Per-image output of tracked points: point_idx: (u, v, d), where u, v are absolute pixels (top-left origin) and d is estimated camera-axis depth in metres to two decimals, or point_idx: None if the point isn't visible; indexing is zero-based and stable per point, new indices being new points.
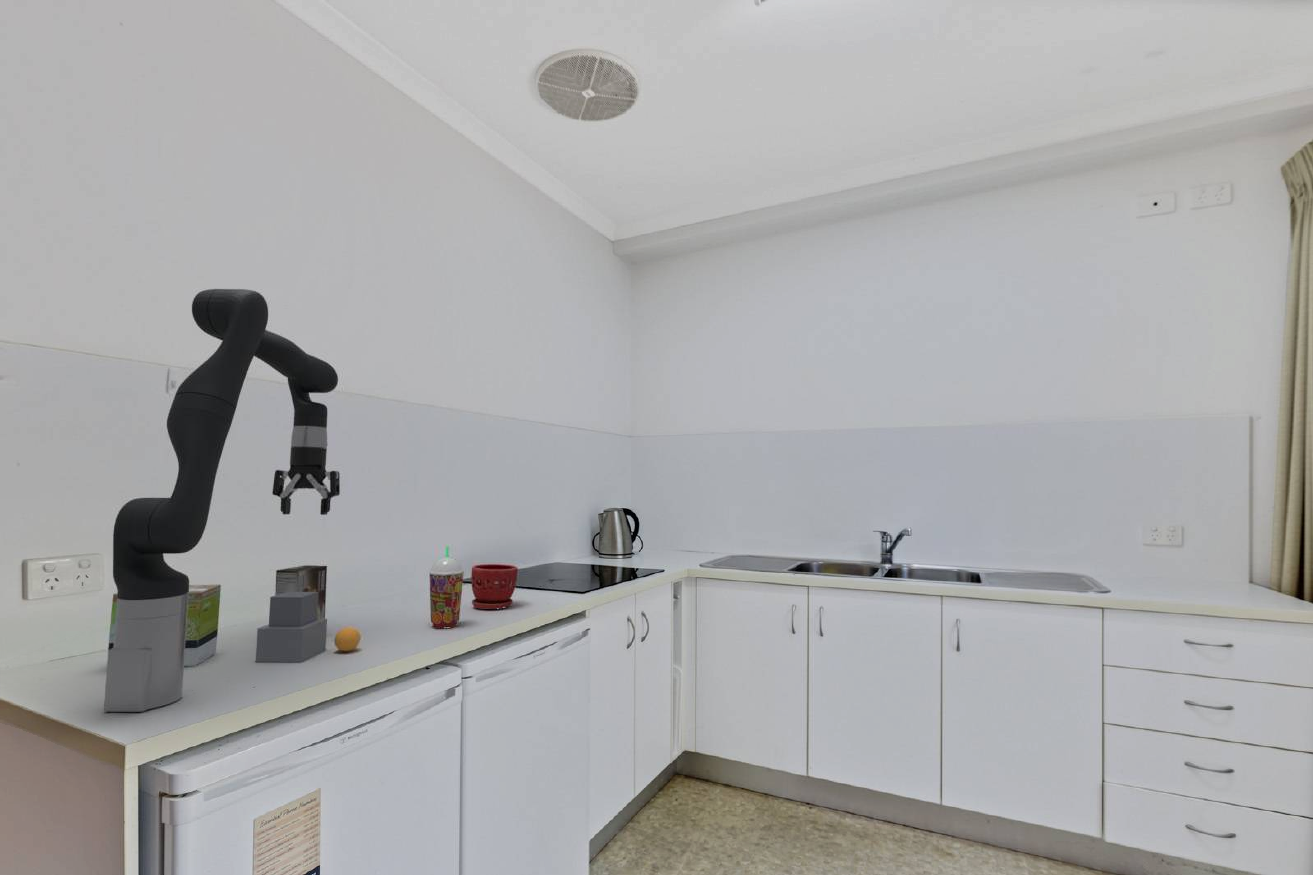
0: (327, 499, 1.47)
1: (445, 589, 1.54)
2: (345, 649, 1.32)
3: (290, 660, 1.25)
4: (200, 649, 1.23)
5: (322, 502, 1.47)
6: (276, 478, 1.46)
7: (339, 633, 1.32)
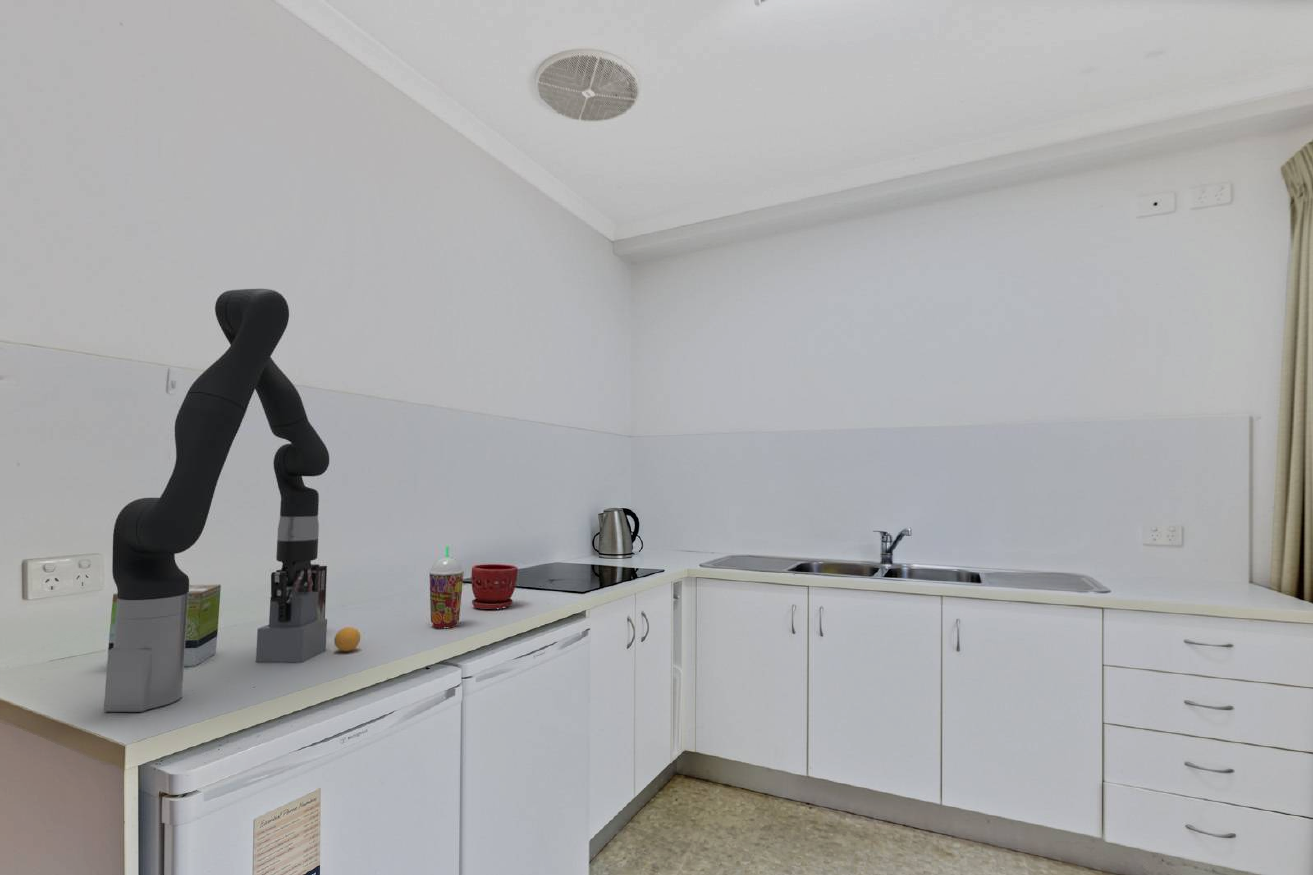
0: None
1: (445, 589, 1.54)
2: (345, 649, 1.32)
3: (290, 660, 1.25)
4: (200, 649, 1.23)
5: None
6: (284, 582, 1.24)
7: (339, 633, 1.32)
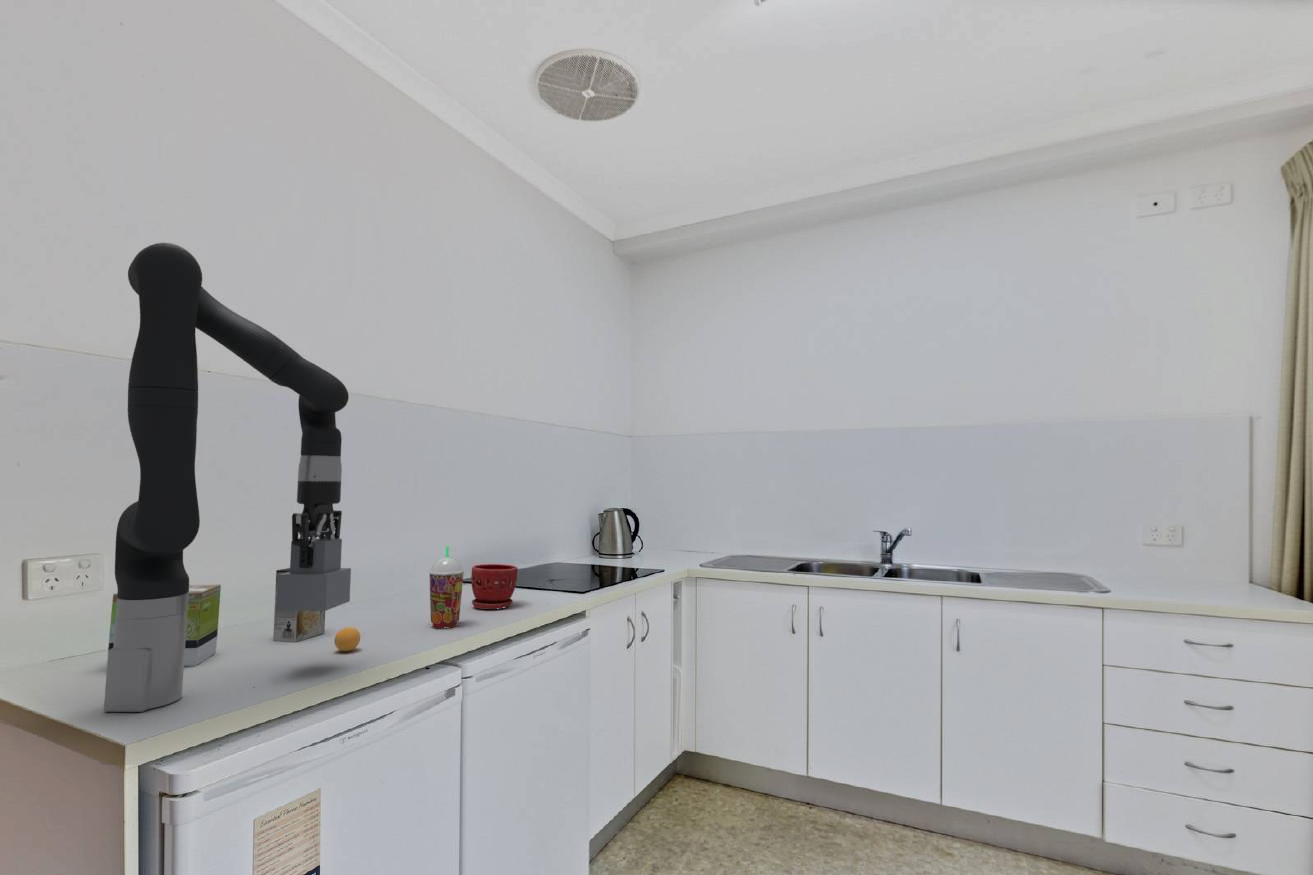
0: None
1: (445, 589, 1.54)
2: (345, 649, 1.32)
3: (313, 608, 1.16)
4: (200, 649, 1.23)
5: None
6: (306, 524, 1.15)
7: (339, 633, 1.32)
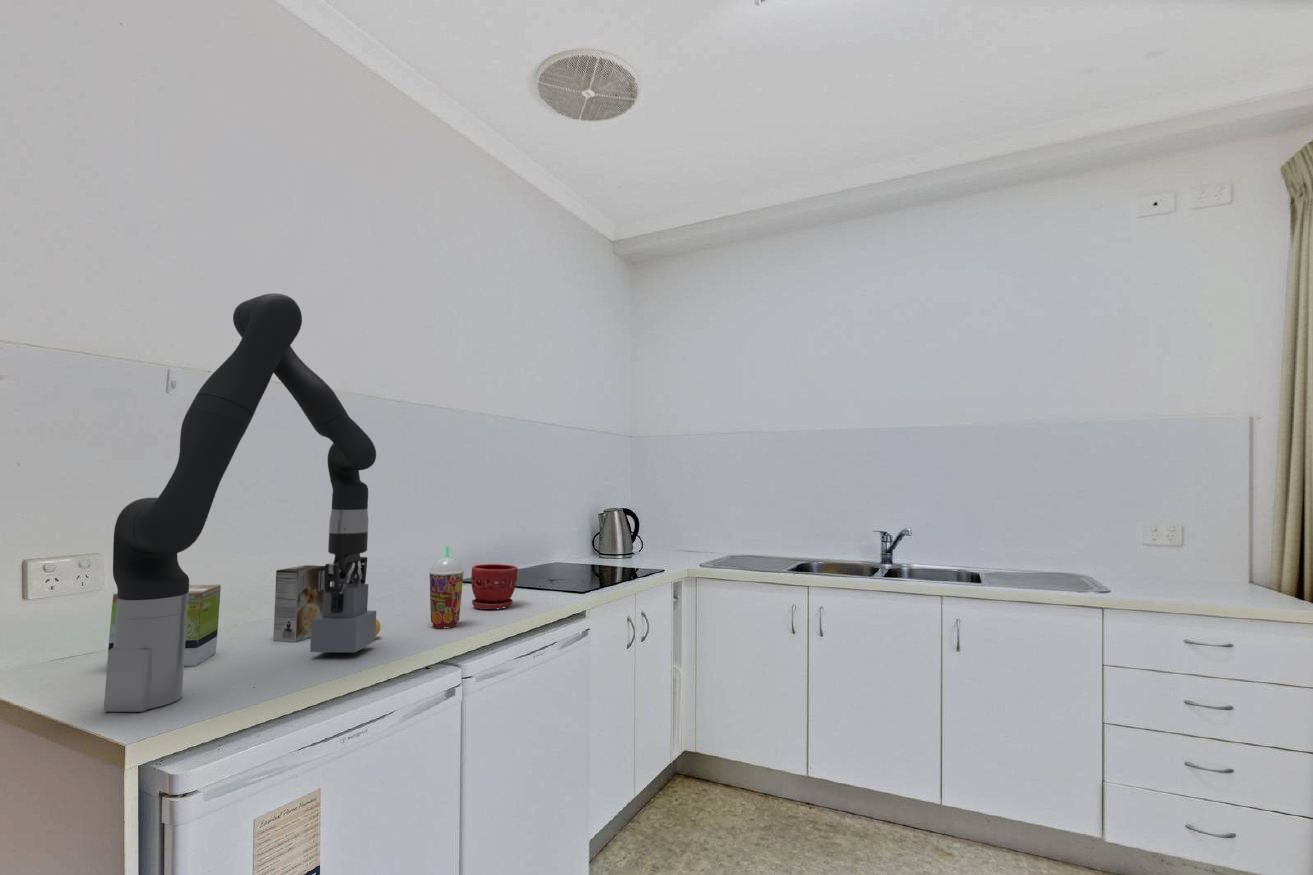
0: None
1: (445, 589, 1.54)
2: None
3: (344, 650, 1.27)
4: (200, 649, 1.23)
5: None
6: (338, 573, 1.27)
7: None
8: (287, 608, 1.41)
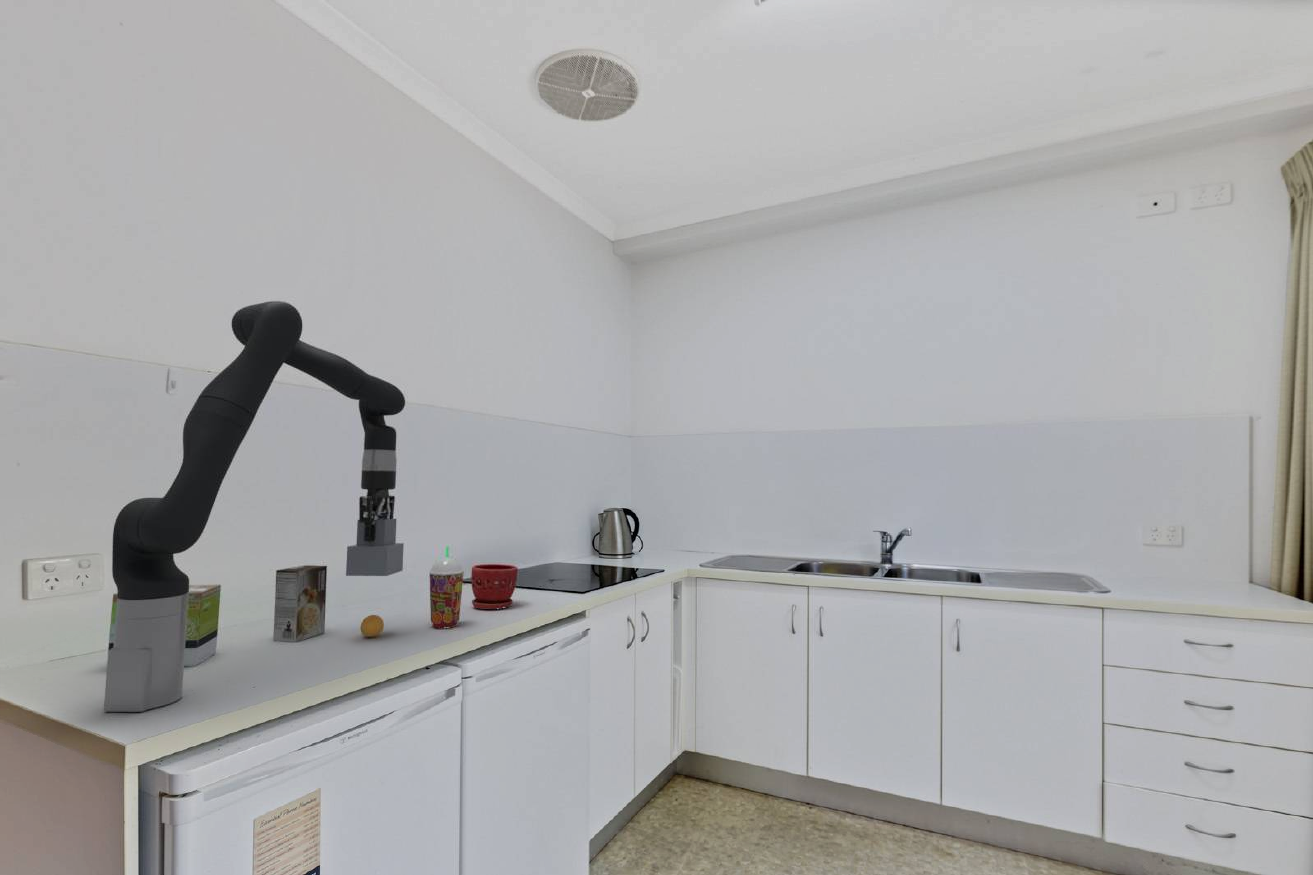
0: None
1: (445, 589, 1.54)
2: None
3: (376, 574, 1.42)
4: (200, 649, 1.23)
5: None
6: (370, 505, 1.42)
7: (364, 633, 1.44)
8: (287, 608, 1.41)
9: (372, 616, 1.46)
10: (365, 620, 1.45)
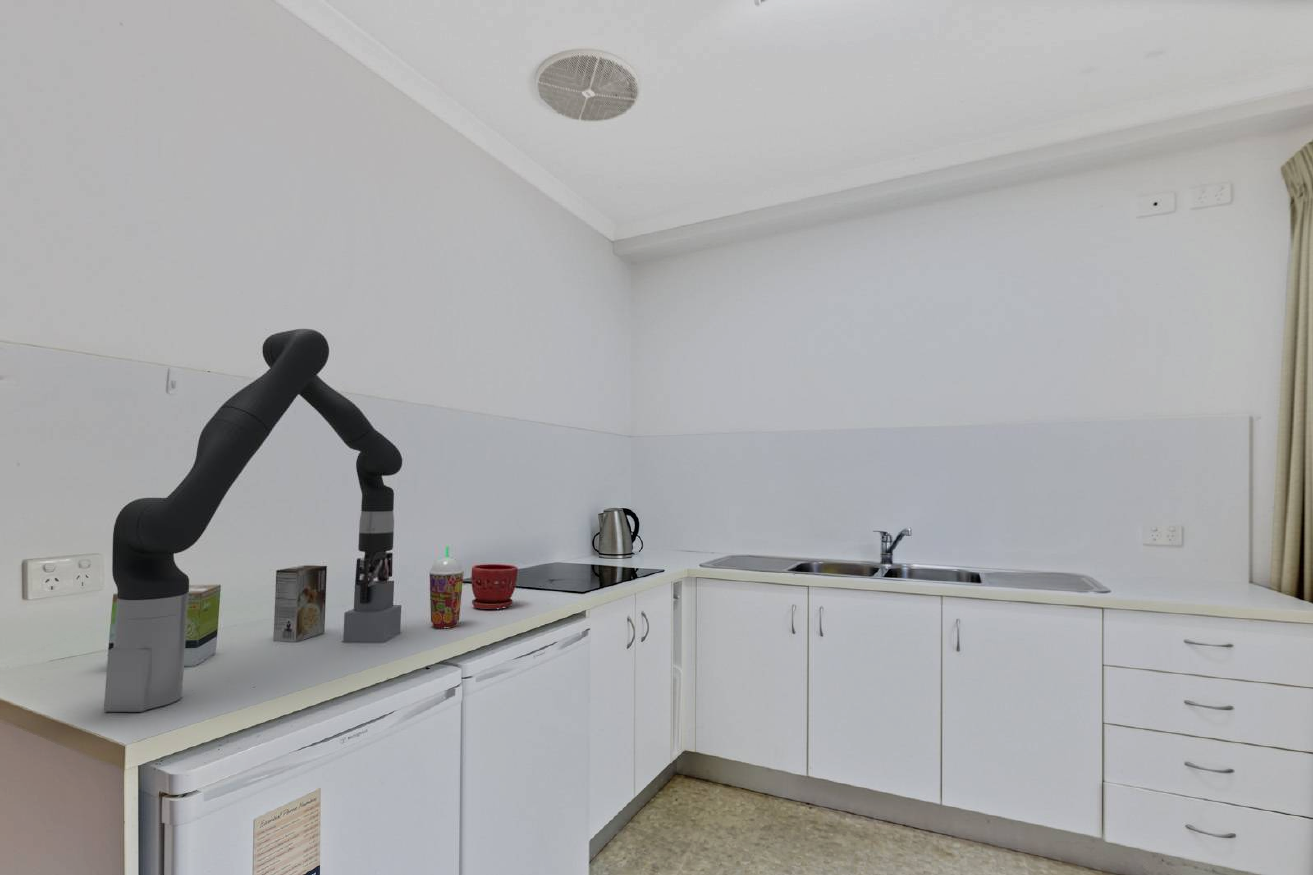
0: None
1: (445, 589, 1.54)
2: None
3: (374, 640, 1.41)
4: (200, 649, 1.23)
5: None
6: (367, 567, 1.40)
7: None
8: (287, 608, 1.41)
9: None
10: None
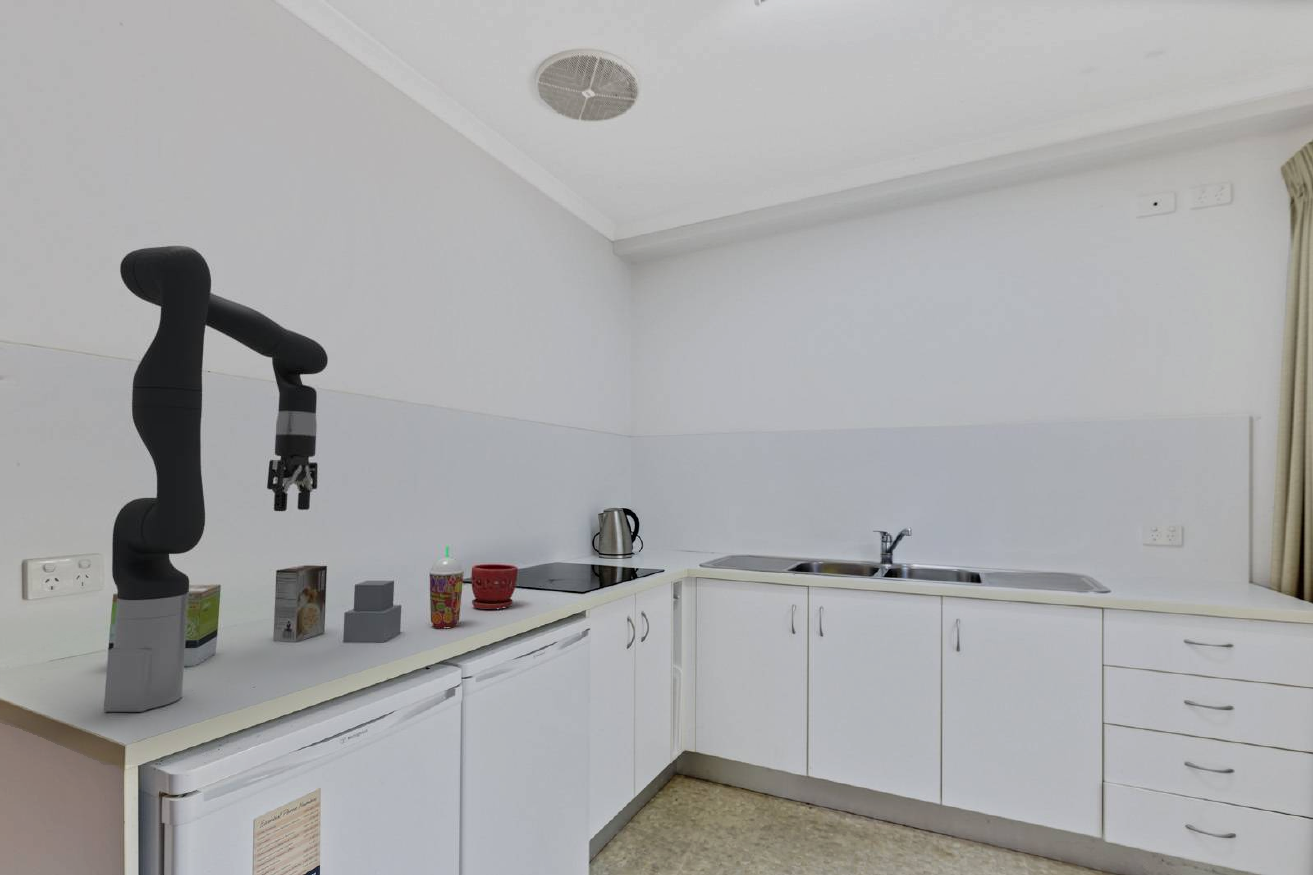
0: (309, 493, 1.37)
1: (445, 589, 1.54)
2: None
3: (374, 640, 1.41)
4: (200, 649, 1.23)
5: (309, 496, 1.36)
6: (282, 469, 1.26)
7: None
8: (287, 608, 1.41)
9: None
10: None
